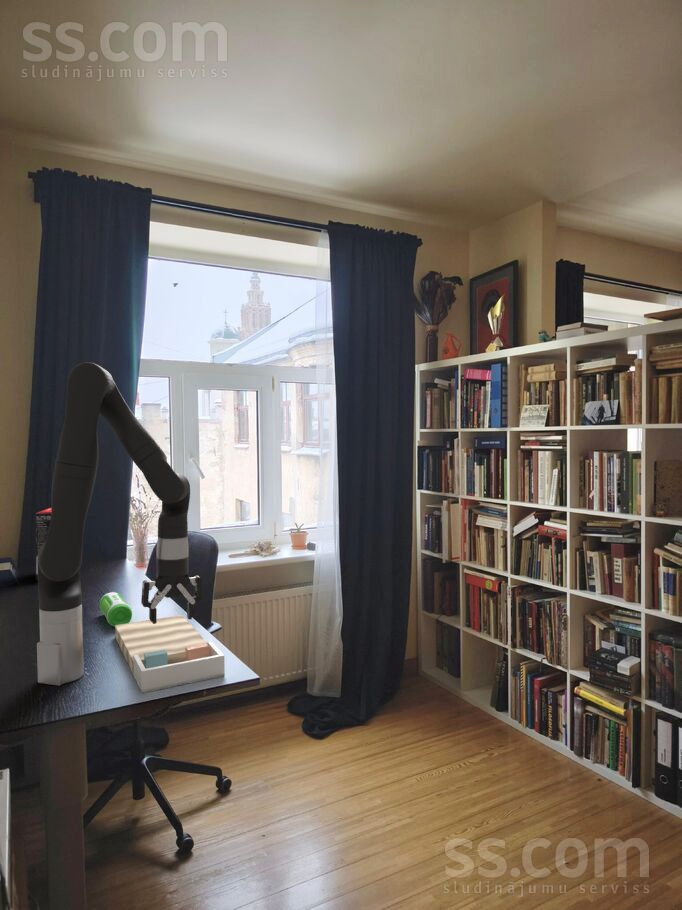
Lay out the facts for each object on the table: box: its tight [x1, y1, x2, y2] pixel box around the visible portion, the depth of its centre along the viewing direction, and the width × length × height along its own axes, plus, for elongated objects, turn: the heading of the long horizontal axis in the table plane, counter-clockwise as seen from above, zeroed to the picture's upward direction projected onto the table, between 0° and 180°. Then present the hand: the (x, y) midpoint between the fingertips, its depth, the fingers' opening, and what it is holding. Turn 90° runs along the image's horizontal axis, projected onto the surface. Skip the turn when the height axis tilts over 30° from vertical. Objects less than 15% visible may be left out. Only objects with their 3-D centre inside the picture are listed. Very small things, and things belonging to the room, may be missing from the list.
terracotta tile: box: [185, 643, 209, 661], centre depth 146 cm, size 5×5×2 cm
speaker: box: [99, 591, 133, 628], centre depth 184 cm, size 18×7×8 cm, turn 31°
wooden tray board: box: [114, 614, 208, 676], centre depth 160 cm, size 30×19×4 cm, turn 29°
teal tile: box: [144, 650, 168, 669], centre depth 142 cm, size 5×5×2 cm
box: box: [133, 640, 226, 694], centre depth 142 cm, size 11×19×5 cm, turn 119°
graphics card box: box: [35, 507, 51, 582], centre depth 240 cm, size 17×7×27 cm, turn 10°
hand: (172, 620), depth 146 cm, fingers open, 8 cm apart
